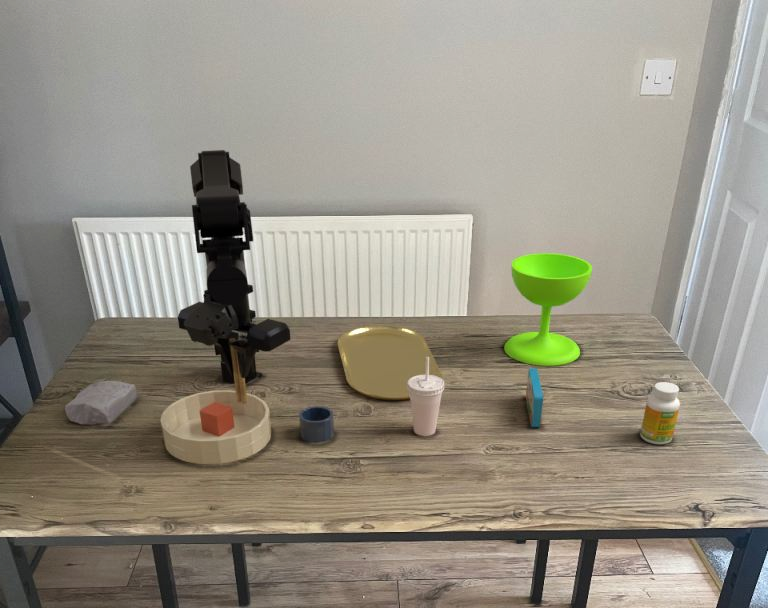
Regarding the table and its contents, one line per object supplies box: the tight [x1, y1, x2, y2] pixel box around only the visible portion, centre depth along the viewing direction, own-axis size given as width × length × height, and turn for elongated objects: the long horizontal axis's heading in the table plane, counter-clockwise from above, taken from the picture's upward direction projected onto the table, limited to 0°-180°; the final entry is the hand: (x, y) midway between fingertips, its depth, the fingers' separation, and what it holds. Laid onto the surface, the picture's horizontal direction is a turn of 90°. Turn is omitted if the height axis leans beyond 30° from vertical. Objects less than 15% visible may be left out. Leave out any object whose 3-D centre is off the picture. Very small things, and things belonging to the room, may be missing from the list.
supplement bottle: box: [639, 381, 681, 445], centre depth 137 cm, size 5×5×10 cm
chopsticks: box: [228, 338, 247, 404], centre depth 131 cm, size 1×2×11 cm, turn 58°
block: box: [200, 402, 234, 437], centre depth 141 cm, size 4×4×4 cm
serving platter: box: [337, 324, 442, 401], centre depth 164 cm, size 19×35×2 cm, turn 9°
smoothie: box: [407, 357, 445, 437], centre depth 138 cm, size 6×6×14 cm
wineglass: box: [503, 252, 593, 367], centre depth 165 cm, size 16×16×18 cm
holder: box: [298, 405, 335, 444], centre depth 139 cm, size 6×6×4 cm
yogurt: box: [525, 368, 544, 428], centre depth 146 cm, size 12×2×6 cm, turn 176°
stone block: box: [64, 380, 138, 426], centre depth 148 cm, size 12×5×10 cm
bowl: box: [159, 389, 272, 465], centre depth 138 cm, size 18×18×5 cm
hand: (238, 375), depth 131 cm, fingers closed on chopsticks
